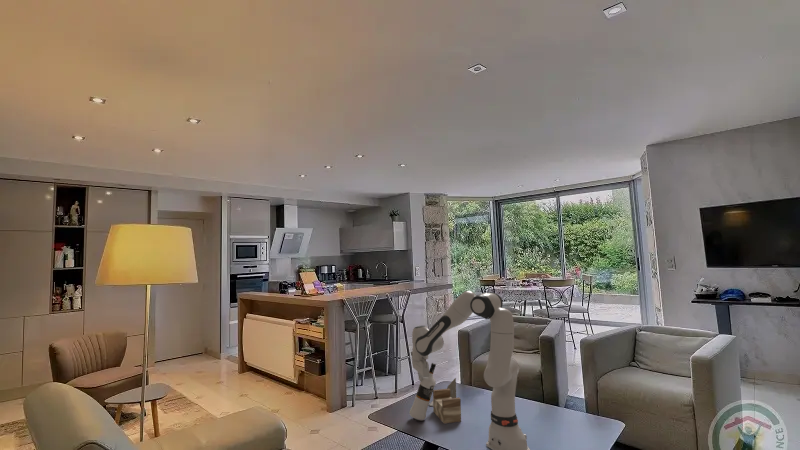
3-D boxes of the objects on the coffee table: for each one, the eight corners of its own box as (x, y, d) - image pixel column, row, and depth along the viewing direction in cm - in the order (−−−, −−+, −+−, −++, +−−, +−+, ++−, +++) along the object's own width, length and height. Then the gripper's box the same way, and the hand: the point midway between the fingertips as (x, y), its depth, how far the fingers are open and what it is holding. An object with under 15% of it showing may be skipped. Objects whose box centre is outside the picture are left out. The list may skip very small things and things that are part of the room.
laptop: (437, 396, 246) (437, 375, 247) (456, 398, 241) (456, 377, 242) (428, 406, 230) (427, 384, 231) (448, 409, 225) (447, 386, 226)
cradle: (461, 421, 208) (460, 398, 209) (443, 423, 205) (443, 400, 206) (449, 409, 224) (449, 388, 225) (433, 411, 222) (432, 390, 223)
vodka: (418, 413, 217) (435, 361, 221) (427, 421, 209) (445, 367, 213) (405, 412, 212) (423, 359, 216) (415, 420, 204) (432, 365, 208)
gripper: (431, 359, 204) (432, 386, 203) (420, 350, 224) (420, 374, 223) (420, 360, 203) (421, 387, 202) (410, 351, 223) (410, 375, 221)
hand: (420, 380), depth 212 cm, fingers closed
